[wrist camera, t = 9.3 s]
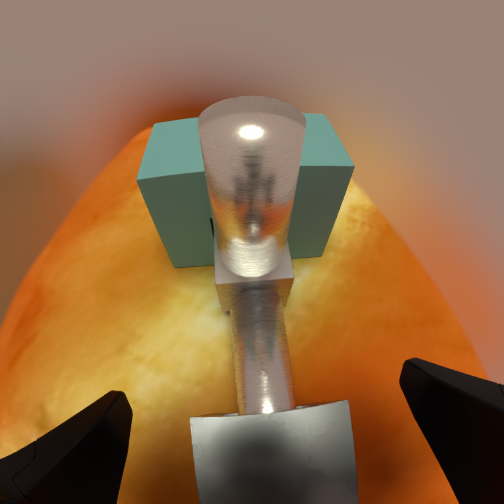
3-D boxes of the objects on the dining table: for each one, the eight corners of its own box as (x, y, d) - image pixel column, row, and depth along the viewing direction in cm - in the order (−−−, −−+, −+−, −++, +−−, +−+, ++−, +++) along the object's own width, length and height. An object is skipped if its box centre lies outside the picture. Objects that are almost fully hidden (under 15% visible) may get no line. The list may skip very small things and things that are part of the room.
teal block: (321, 256, 18) (354, 166, 12) (174, 267, 18) (136, 179, 11) (306, 202, 21) (324, 114, 14) (178, 211, 20) (154, 123, 14)
